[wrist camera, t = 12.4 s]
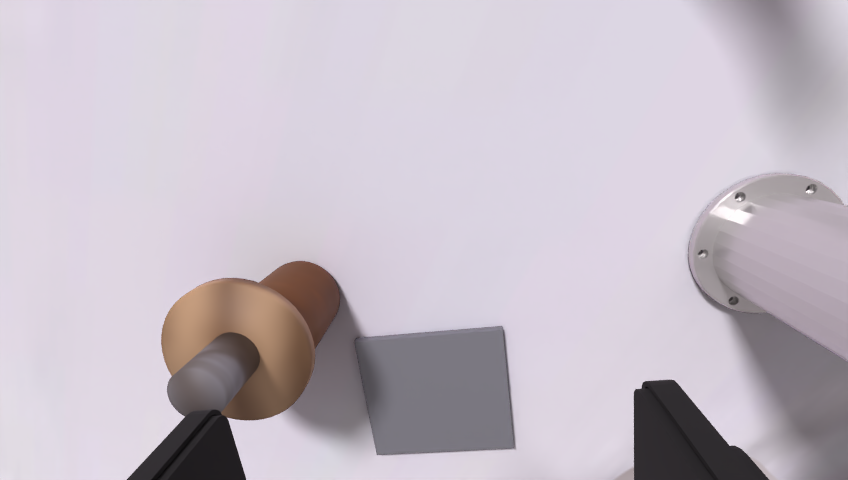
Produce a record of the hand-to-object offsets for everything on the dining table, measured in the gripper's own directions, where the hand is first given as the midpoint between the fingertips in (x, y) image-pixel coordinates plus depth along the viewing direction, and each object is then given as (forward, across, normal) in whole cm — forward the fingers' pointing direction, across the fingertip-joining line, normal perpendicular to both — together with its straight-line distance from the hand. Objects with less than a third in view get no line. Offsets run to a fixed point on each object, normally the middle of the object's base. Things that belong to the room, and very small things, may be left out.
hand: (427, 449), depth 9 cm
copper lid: (+21, +18, +8) cm, 29 cm away
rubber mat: (+30, +4, +20) cm, 37 cm away
